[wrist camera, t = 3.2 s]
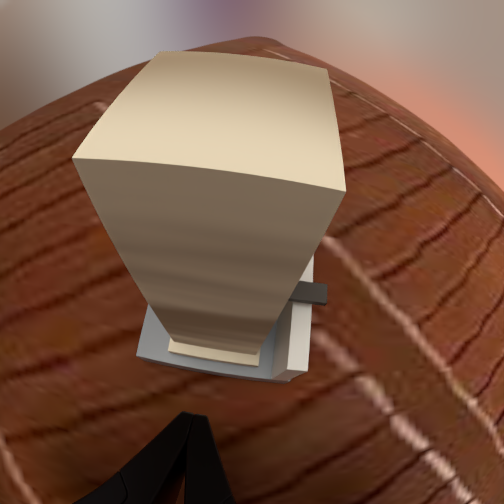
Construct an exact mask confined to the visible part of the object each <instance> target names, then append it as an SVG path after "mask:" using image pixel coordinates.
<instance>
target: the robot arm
mask: <svg viewBox="0 0 504 504" xmlns="http://www.w3.org/2000/svg"><path fill="white" fill-rule="evenodd" d="M119 471H120V472H119ZM119 471H118V472H117V473H115V474H114V475H113V476H112V477H111V478H110V479H108V480H107V481H106V482H105V483H103V484H102V485H101V486H100V487H98V488H97V489H95V490H94V491H92V492H91V493H89V494H87V495H86V496H84V497H82V498H81V499H79V500H77V501H76V502H74V503H72V504H175V503H176V500H177V497H178V494H179V491H180V488H181V485H182V482H183V479H184V476H185V495H184V504H236V502H235V499H234V497H233V494H232V491H231V488H230V485H229V482H228V480H227V477H226V474H225V471H224V468H223V465H222V462H221V459H220V455H219V452H218V449H217V446H216V443H215V440H214V436H213V433H212V430H211V426H210V423H209V419H208V417H207V416H206V415H200V414H195V415H194V414H193V413H190V412H185V411H182V412H181V413H179V414H178V415H177V416H176V417H175V418H174V419H173V420H172V421H171V422H170V423H169V424H168V425H167V426H166V427H165V428H164V429H163V430H162V431H161V432H160V433H159V434H158V435H157V436H156V437H155V438H154V439H153V440H152V441H151V442H149V443H148V444H147V445H146V446H145V447H144V448H143V449H142V450H141V451H140V452H139V453H138V454H137V455H135V456H134V457H133V458H132V459H131V460H130V461H129V462H128V463H127V464H126V465H125V466H123V467H122V468H121V469H120V470H119Z"/></svg>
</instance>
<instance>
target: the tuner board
mask: <svg viewBox="0 0 504 504" xmlns="http://www.w3.org/2000/svg"><path fill="white" fill-rule="evenodd" d="M299 281H306V282H313V256H312V258H311V260H310V262H309V264H308V265H307V267H306V269H305V271H304V273H303V274H302V276H301V278H300V280H299ZM311 310H312V304H307V303H300V302H292V301H287V303H286V305H285V306H284V308H283V310H282V312H281V313H280V315H279V317H278V318H277V320H276V322H275V324H274V325H273V327H272V329H271V330H270V332H269V334H268V335H267V337H266V339H265V340H264V342H263V344H262V345H261V349H260V357H259V365H258V367H250V366H243V365H236V364H229V363H223V362H216V361H210V360H205V359H199V358H194V357H188V356H183V355H178V354H173V353H170V352H169V351H168V347H169V342H170V336H169V334H168V333H167V331H166V330H165V328H164V327H163V325H162V324H161V322H160V321H159V319H158V318H157V316H156V315H155V313H154V311H153V310H152V308H151V307H150V305H149V304H148V308H147V312H146V316H145V320H144V324H143V328H142V332H141V336H140V341H139V345H138V349H137V354H136V356H138V357H139V358H141V359H142V360H144V361H148V362H153V363H157V364H161V365H166V366H171V367H175V368H180V369H185V370H191V371H196V372H201V373H207V374H213V375H219V376H225V377H232V378H239V379H247V380H254V381H263V382H272V383H282V384H285V383H287V382H290V379H292V378H294V377H296V376H298V375H300V374H303V373H305V372H307V371H308V359H309V345H310V329H311Z"/></svg>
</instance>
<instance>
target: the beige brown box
mask: <svg viewBox="0 0 504 504" xmlns="http://www.w3.org/2000/svg"><path fill="white" fill-rule="evenodd" d="M72 160H73V162H74V164H75V167H76V169H77V171H78V173H79V176H80V178H81V180H82V182H83V184H84V187H85V189H86V191H87V193H88V195H89V197H90V199H91V201H92V203H93V205H94V207H95V209H96V212H97V214H98V215H99V217H100V219H101V221H102V223H103V225H104V227H105V229H106V231H107V233H108V235H109V237H110V239H111V240H112V242H113V244H114V246H115V248H116V250H117V251H118V253H119V255H120V257H121V258H122V260H123V262H124V264H125V265H126V267H127V269H128V271H129V272H130V274H131V276H132V277H133V279H134V281H135V282H136V284H137V286H138V287H139V289H140V291H141V292H142V294H143V296H144V297H145V299H146V300H147V302H148V304H149V305H150V307H151V308H152V310H153V311H154V313H155V315H156V316H157V318H158V319H159V321H160V322H161V324H162V325H163V327H164V328H165V330H166V331H167V333H168V334H169V336H170V342H169V347H168V351H169V352H170V353H173V354H178V355H183V356H188V357H194V358H199V359H205V360H210V361H216V362H223V363H229V364H236V365H243V366H250V367H258V365H259V357H260V349H261V345H262V344H263V342H264V340H265V339H266V337H267V335H268V334H269V332H270V330H271V329H272V327H273V325H274V324H275V322H276V320H277V318H278V317H279V315H280V313H281V312H282V310H283V308H284V306H285V305H286V303H287V301H292V302H300V303H307V304H315V305H323V306H325V305H326V303H327V284H321V283H313V282H306V281H299V280H300V278H301V276H302V274H303V273H304V271H305V269H306V267H307V265H308V264H309V262H310V260H311V258H312V256H313V254H314V252H315V251H316V249H317V247H318V245H319V243H320V241H321V239H322V237H323V236H324V234H325V232H326V230H327V228H328V226H329V224H330V222H331V220H332V218H333V216H334V214H335V212H336V211H337V209H338V207H339V205H340V203H341V201H342V199H343V197H344V195H345V193H346V186H345V177H344V169H343V161H342V153H341V146H340V139H339V132H338V126H337V120H336V114H335V108H334V102H333V97H332V92H331V86H330V81H329V76H328V72H327V69H323V68H319V67H314V66H310V65H305V64H300V63H294V62H289V61H283V60H277V59H270V58H263V57H255V56H247V55H237V54H226V53H212V52H186V51H171V52H170V51H169V52H168V51H165V52H159V53H158V54H157V55H156V56H155V57H154V58H153V59H152V60H151V61H150V62H149V63H148V64H147V65H146V66H145V67H144V68H143V69H142V70H141V71H140V72H139V73H138V75H137V76H136V77H135V78H134V79H133V80H132V81H131V82H130V83H129V84H128V86H127V87H126V88H125V89H124V90H123V91H122V92H121V94H120V95H119V96H118V97H117V98H116V99H115V101H114V102H113V103H112V104H111V106H110V107H109V108H108V109H107V110H106V112H105V113H104V114H103V116H102V117H101V118H100V119H99V121H98V122H97V123H96V125H95V126H94V127H93V129H92V130H91V131H90V133H89V134H88V135H87V137H86V138H85V140H84V141H83V142H82V144H81V145H80V147H79V148H78V150H77V151H76V153H75V154H74V156H73V157H72Z"/></svg>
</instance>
